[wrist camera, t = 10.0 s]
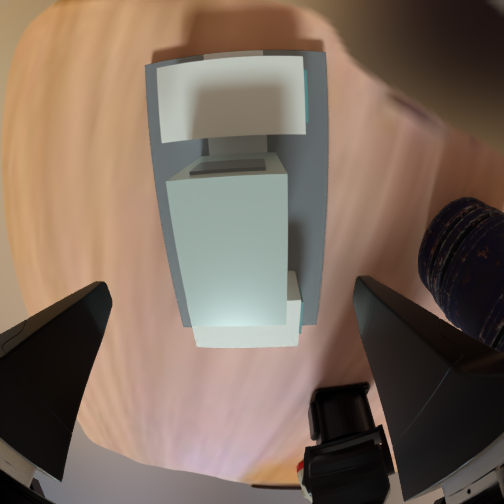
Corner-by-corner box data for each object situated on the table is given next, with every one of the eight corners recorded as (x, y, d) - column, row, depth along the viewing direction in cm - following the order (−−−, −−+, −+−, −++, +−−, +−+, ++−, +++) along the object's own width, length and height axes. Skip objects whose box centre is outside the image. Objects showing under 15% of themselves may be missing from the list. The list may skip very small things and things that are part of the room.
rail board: (322, 55, 14) (341, 37, 10) (314, 316, 23) (323, 355, 19) (150, 67, 14) (120, 55, 10) (185, 319, 23) (174, 357, 19)
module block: (275, 149, 16) (287, 169, 10) (277, 255, 19) (286, 324, 13) (200, 154, 16) (165, 177, 10) (212, 258, 19) (192, 326, 13)
